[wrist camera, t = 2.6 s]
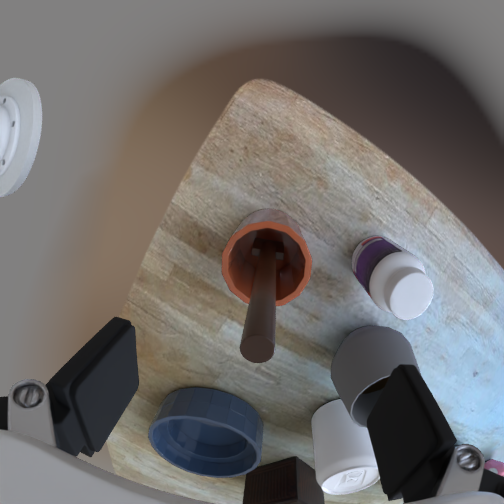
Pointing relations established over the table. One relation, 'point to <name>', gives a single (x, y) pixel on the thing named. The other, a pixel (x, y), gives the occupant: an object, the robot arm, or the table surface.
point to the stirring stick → (262, 303)
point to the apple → (495, 466)
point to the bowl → (207, 433)
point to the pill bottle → (392, 277)
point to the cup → (368, 367)
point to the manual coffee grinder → (283, 484)
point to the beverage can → (342, 451)
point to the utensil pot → (244, 264)
